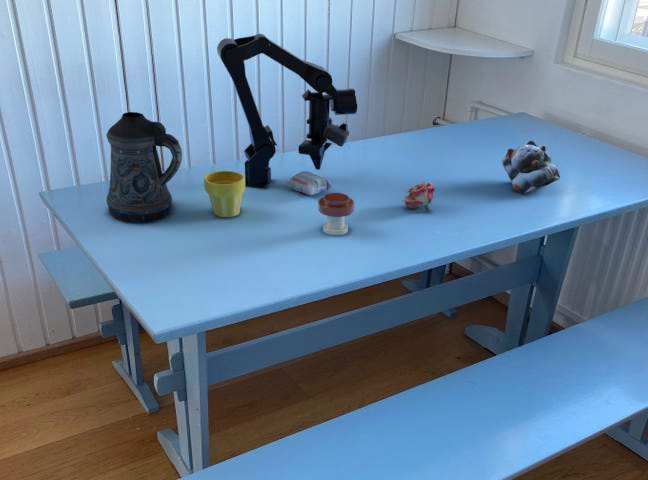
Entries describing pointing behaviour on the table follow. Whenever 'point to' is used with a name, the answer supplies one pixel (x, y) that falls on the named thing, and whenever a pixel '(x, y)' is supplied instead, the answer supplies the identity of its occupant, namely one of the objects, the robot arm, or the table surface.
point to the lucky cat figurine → (530, 167)
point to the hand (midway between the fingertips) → (318, 169)
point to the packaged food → (308, 183)
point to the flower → (419, 196)
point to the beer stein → (140, 169)
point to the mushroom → (335, 212)
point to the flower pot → (225, 191)
